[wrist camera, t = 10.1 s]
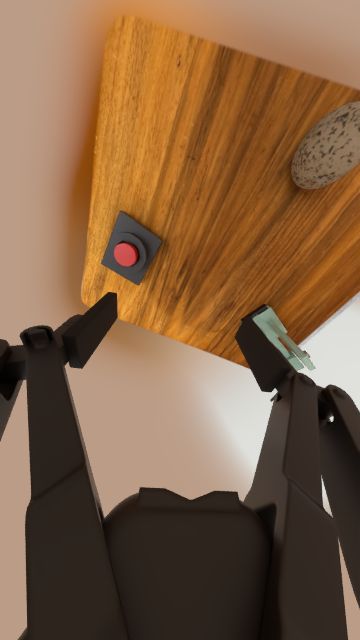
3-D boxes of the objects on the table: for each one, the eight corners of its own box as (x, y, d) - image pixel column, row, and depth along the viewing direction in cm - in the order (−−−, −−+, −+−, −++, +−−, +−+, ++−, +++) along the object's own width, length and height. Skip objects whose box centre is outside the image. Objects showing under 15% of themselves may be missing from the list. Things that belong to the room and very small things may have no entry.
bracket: (239, 323, 39) (264, 365, 27) (268, 304, 36) (311, 342, 24) (257, 344, 42) (287, 389, 31) (285, 329, 39) (329, 372, 28)
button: (122, 237, 25) (118, 238, 23) (141, 250, 26) (139, 252, 25) (114, 256, 27) (110, 258, 25) (133, 268, 28) (130, 270, 26)
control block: (124, 211, 26) (116, 209, 23) (163, 240, 28) (161, 241, 25) (105, 261, 30) (96, 265, 27) (140, 282, 33) (136, 288, 29)
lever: (239, 317, 30) (241, 321, 28) (262, 302, 28) (266, 304, 26) (280, 369, 31) (285, 376, 29) (305, 357, 29) (312, 364, 27)
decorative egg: (285, 135, 21) (355, 73, 13) (338, 124, 21) (447, 52, 12) (275, 198, 25) (324, 182, 17) (320, 190, 24) (394, 170, 16)
